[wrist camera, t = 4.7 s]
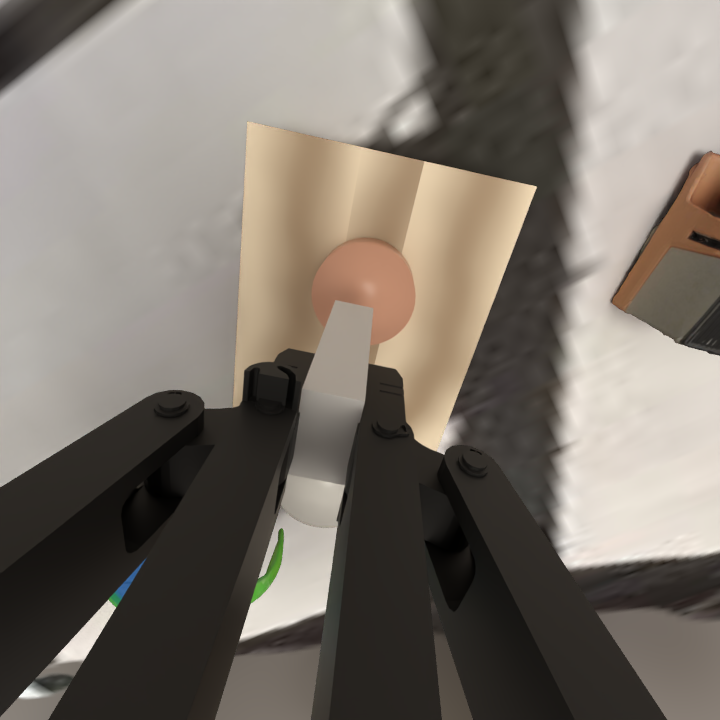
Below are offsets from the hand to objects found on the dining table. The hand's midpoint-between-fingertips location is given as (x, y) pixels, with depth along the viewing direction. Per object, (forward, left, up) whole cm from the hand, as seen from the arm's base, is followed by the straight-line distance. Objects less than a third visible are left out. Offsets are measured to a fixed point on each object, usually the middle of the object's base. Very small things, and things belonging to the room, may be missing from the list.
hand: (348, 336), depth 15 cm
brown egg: (0, 0, -11) cm, 11 cm away
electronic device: (+19, +6, -13) cm, 24 cm away
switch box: (0, -5, -13) cm, 14 cm away
